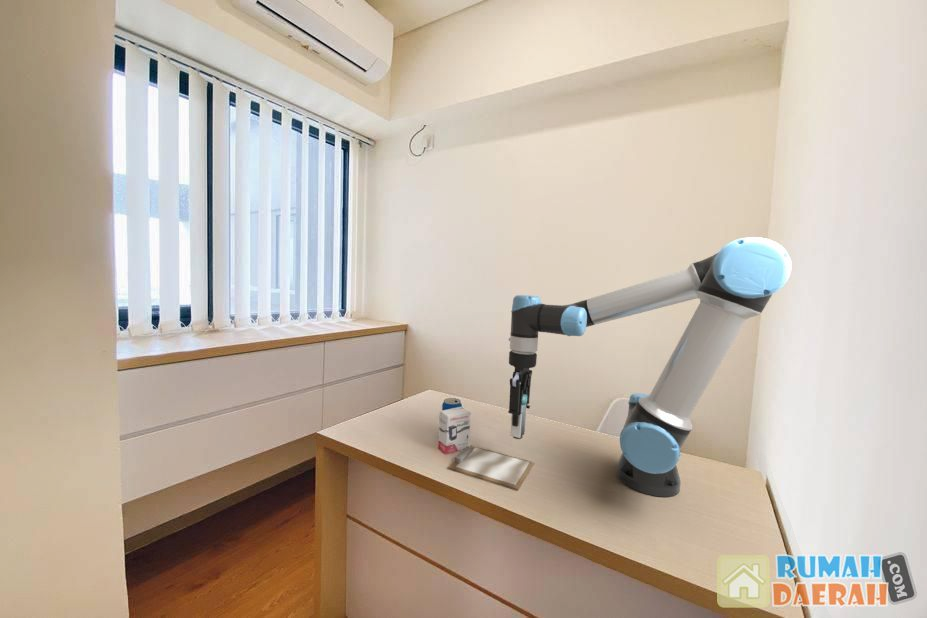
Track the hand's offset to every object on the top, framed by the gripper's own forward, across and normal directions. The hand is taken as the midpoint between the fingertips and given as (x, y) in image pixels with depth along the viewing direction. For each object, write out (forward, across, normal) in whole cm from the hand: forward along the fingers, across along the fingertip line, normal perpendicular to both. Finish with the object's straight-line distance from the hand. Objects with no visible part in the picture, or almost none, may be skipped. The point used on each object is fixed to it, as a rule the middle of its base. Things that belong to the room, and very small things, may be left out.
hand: (517, 433), depth 99 cm
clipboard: (+9, +4, -6) cm, 12 cm away
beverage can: (+10, -7, -25) cm, 27 cm away
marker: (+1, 0, 0) cm, 1 cm away
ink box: (+10, 0, -20) cm, 22 cm away
